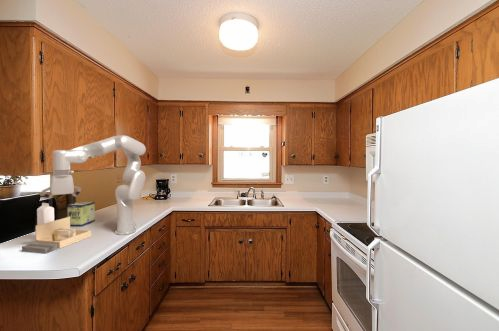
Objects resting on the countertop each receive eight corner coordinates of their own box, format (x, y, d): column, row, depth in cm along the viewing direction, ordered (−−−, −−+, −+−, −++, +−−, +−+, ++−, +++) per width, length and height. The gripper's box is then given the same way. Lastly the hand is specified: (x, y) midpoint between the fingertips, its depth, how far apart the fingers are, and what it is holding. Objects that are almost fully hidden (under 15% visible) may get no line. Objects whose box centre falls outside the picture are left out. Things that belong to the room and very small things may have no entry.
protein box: (67, 226, 183) (66, 205, 183) (82, 221, 199) (81, 201, 198) (81, 226, 183) (81, 205, 182) (95, 221, 199) (95, 201, 198)
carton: (69, 235, 163) (69, 216, 162) (91, 237, 160) (90, 218, 159) (36, 247, 142) (35, 225, 142) (59, 249, 139) (59, 227, 139)
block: (61, 239, 154) (61, 228, 154) (75, 240, 152) (75, 228, 152) (54, 241, 150) (54, 230, 149) (69, 243, 148) (68, 231, 148)
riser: (34, 247, 141) (34, 242, 141) (57, 249, 138) (57, 244, 138) (22, 252, 135) (21, 246, 134) (45, 254, 132) (45, 248, 132)
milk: (48, 237, 160) (47, 202, 159) (55, 238, 158) (54, 202, 157) (37, 239, 154) (36, 203, 154) (44, 241, 152) (43, 204, 151)
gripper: (80, 172, 145) (80, 202, 146) (40, 173, 134) (41, 205, 134) (82, 172, 139) (82, 204, 140) (41, 174, 128) (42, 208, 129)
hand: (62, 204), depth 137 cm, fingers open, 9 cm apart
